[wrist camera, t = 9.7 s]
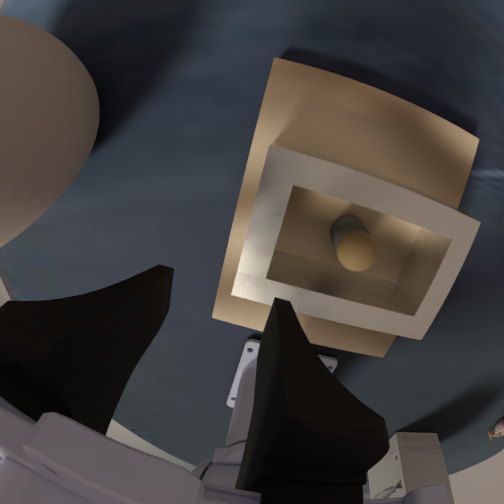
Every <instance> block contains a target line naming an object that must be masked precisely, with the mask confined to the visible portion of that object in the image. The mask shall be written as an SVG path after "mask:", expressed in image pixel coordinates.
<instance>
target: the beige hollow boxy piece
mask: <svg viewBox="0 0 504 504" xmlns="http://www.w3.org/2000/svg"><path fill="white" fill-rule="evenodd" d="M293 185H295V186H298V187H302V188H305V189H309V190H312V191H316V192H319V193H322V194H325V195H329V196H332V197H335V198H338V199H342V200H345V201H348V202H351V203H354V204H357V205H360V206H363V207H366V208H369V209H372V210H375V211H378V212H381V213H384V214H386V215H389V216H392V217H395V218H398V219H400V220H403V221H406V222H409V223H411V224H414V225H417V226H419V227H420V230H419V232H418V235H417V237H416V240H415V242H414V244H413V247H412V249H411V251H410V254H409V256H408V258H407V260H406V263H405V265H404V267H403V269H402V271H401V274H400V276H399V278H398V280H397V282H396V283H392V282H389V281H385V280H382V279H378V278H375V277H371V276H368V275H364V274H360V273H357V272H353V271H350V270H346V269H343V268H339V267H335V266H332V265H328V264H325V263H321V262H317V261H314V260H310V259H307V258H303V257H299V256H296V255H292V254H289V253H285V252H281V251H278V250H274V249H275V245H276V242H277V239H278V235H279V232H280V228H281V225H282V222H283V218H284V215H285V211H286V208H287V204H288V201H289V197H290V194H291V190H292V187H293ZM480 223H481V222H479V221H478V220H476V219H475V218H473V217H471V216H470V215H468V214H467V213H465V212H463V211H462V210H460V209H458V208H457V207H455V206H453V205H452V204H450V203H448V202H446V201H444V200H441V199H439V198H437V197H435V196H432V195H430V194H428V193H425V192H423V191H421V190H418V189H416V188H413V187H411V186H409V185H406V184H404V183H401V182H398V181H396V180H393V179H391V178H388V177H385V176H383V175H380V174H377V173H375V172H372V171H369V170H366V169H363V168H361V167H358V166H355V165H352V164H349V163H346V162H343V161H340V160H337V159H334V158H331V157H327V156H324V155H321V154H318V153H314V152H311V151H308V150H304V149H301V148H297V147H294V146H290V145H286V144H283V143H279V142H275V141H274V142H272V143H271V144H270V145H269V148H268V152H267V155H266V159H265V163H264V167H263V171H262V175H261V179H260V183H259V186H258V190H257V194H256V198H255V202H254V206H253V210H252V214H251V218H250V222H249V226H248V230H247V234H246V238H245V242H244V246H243V250H242V254H241V258H240V262H239V266H238V270H237V274H236V278H235V282H234V286H233V290H232V294H231V295H234V296H238V297H241V298H245V299H249V300H252V301H256V302H260V303H263V304H267V305H271V306H272V304H273V301H274V298H275V297H277V298H280V299H284V300H288V301H290V302H291V304H292V306H293V309H294V311H295V312H298V313H302V314H306V315H310V316H314V317H318V318H323V319H327V320H331V321H335V322H339V323H344V324H348V325H352V326H357V327H361V328H366V329H370V330H375V331H379V332H384V333H389V334H394V335H398V336H403V337H408V338H413V339H418V340H422V338H423V336H424V335H425V333H426V331H427V330H428V328H429V327H430V325H431V323H432V322H433V320H434V318H435V316H436V315H437V313H438V311H439V309H440V308H441V306H442V304H443V302H444V300H445V299H446V297H447V295H448V293H449V291H450V289H451V287H452V285H453V283H454V281H455V279H456V277H457V275H458V273H459V271H460V269H461V267H462V265H463V263H464V261H465V259H466V256H467V254H468V252H469V250H470V247H471V245H472V243H473V240H474V238H475V236H476V233H477V231H478V228H479V226H480Z"/></svg>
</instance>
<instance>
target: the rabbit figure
mask: <svg viewBox="0 0 504 504" xmlns="http://www.w3.org/2000/svg"><path fill="white" fill-rule="evenodd" d="M500 432H502V433H501V434H499V433H500ZM488 434H489V437H490V438H491V437H496V436H497V437H498V438H499V436H503V435H504V418H503V419H501V420H499V421H498V422H497V424H496V426H495V434H494V435H492V434H491V432H490V430H489V432H488ZM490 440H491V439H490Z"/></svg>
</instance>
